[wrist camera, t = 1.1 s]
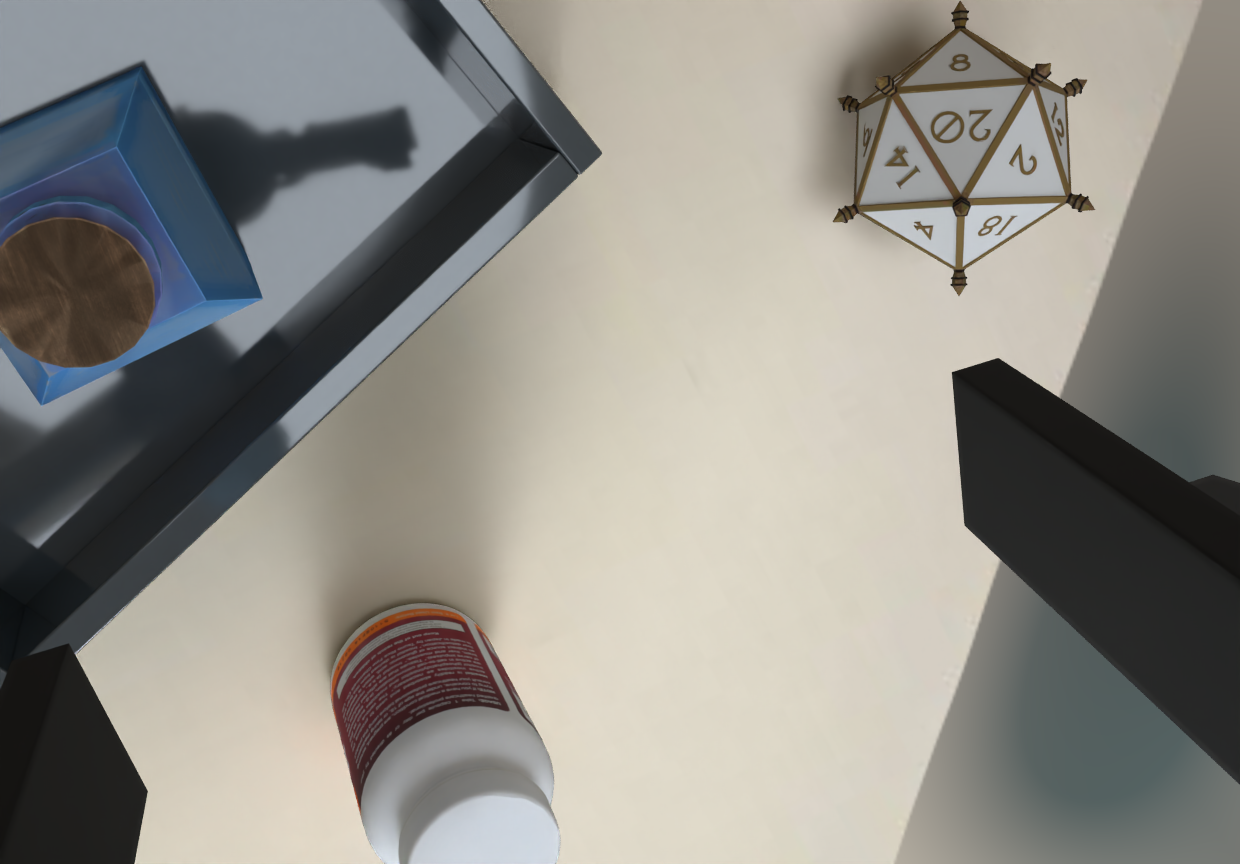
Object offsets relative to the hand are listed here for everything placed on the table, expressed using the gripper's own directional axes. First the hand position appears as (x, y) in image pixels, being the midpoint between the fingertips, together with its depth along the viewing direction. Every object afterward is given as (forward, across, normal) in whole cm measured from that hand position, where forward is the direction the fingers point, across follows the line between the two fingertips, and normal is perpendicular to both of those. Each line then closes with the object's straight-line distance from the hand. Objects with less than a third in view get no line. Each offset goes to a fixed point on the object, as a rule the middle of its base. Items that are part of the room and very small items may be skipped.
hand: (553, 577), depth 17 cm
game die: (+26, -18, +3) cm, 32 cm away
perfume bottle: (+23, +9, -3) cm, 25 cm away
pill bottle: (+23, +5, +17) cm, 29 cm away
